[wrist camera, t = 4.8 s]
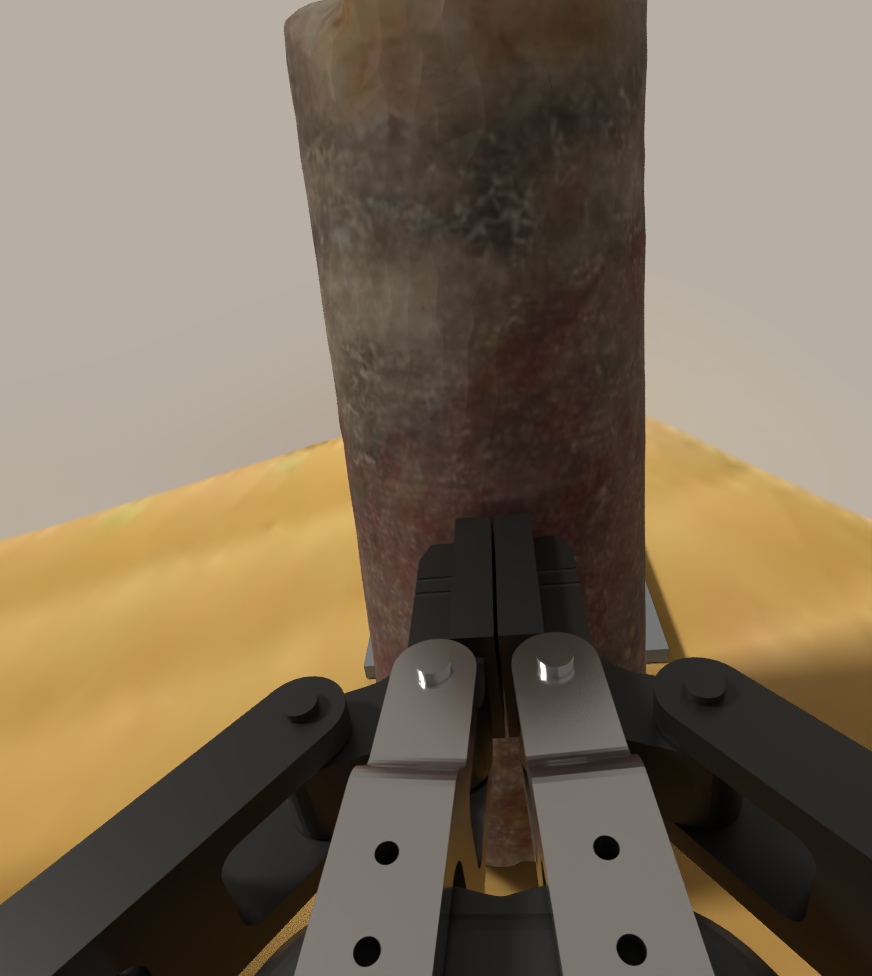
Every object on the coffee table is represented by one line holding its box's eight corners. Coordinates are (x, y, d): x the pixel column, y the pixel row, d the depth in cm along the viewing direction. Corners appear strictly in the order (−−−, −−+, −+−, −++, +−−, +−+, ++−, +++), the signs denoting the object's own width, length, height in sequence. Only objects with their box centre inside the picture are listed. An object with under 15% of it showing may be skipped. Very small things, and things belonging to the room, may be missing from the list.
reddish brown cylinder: (564, 672, 25) (527, 32, 18) (711, 817, 18) (746, -98, 11) (364, 746, 23) (228, 40, 15) (452, 942, 16) (289, -119, 9)
